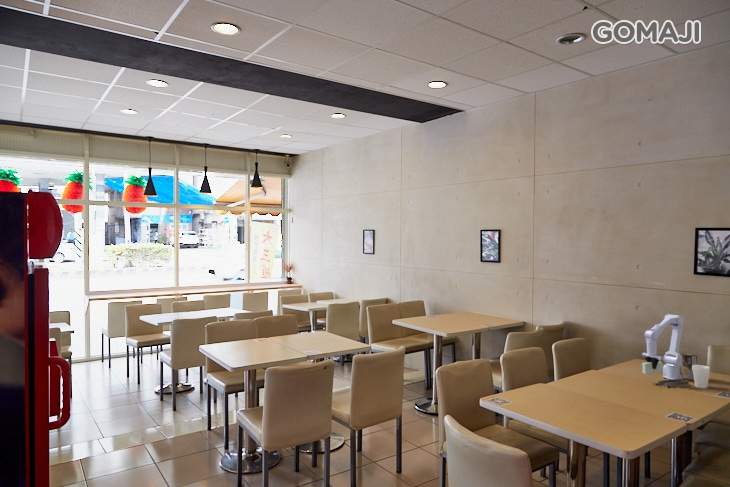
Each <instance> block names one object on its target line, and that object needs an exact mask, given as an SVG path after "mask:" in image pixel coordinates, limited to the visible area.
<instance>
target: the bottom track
mask: <svg viewBox="0 0 730 487" xmlns="http://www.w3.org/2000/svg"><path fill="white" fill-rule="evenodd" d="M657 384H658V386H660V385H661V387H663V386H665V387H664V388H666V387H673V388H681V387H689V386H691V383H689V380H683V379H664V380H657V382H656V385H657Z"/></svg>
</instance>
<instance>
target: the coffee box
mask: <svg viewBox="0 0 730 487" xmlns="http://www.w3.org/2000/svg"><path fill="white" fill-rule="evenodd" d="M679 354H680V355H681V356H682V364H681V366H679V373H680V378H683V379H686V380H687V379H688V380H693V381H695V380H694V375H693V370H692V365H698V355H696V354H690V353H685V352H684V353H679Z"/></svg>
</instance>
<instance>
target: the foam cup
mask: <svg viewBox="0 0 730 487" xmlns="http://www.w3.org/2000/svg"><path fill="white" fill-rule="evenodd" d="M692 370H693V375H694V380H693V381H694V385H695V387H696V388H701V389H707V388H708V386H709V377H710V366H707V365H701V364H697V365H692Z"/></svg>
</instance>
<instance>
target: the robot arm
mask: <svg viewBox="0 0 730 487" xmlns="http://www.w3.org/2000/svg"><path fill="white" fill-rule="evenodd" d="M684 322H685V318H684V317H683V315H676V314H671V313H667V314H665V316H664V319H663V320H662V321H661V322H660V323H659V324H658V323H657V324H654V326H653V327H651V328H650V329H649V330H648V329H647V330H645V331H644V334H643V337H644V338H645V341H646V352H642V353H641V355H642V356H643V357H644V359H645V362H652V368H653V369H656V367H657V364H658V362H659V361H662V360H663V363H664V365H662V367H663V372H662V377H661V378H666V379H667V380H672V379H682V380H684V378H683V377H680V369H679V366H681V364H682V356H681V355H680V354H681V353H680V351H679V350H680V343H681V339H682V338H681V337H682V332H683V328H684ZM668 326H670V327H671V328H672V332H671V337H670V338H671V339H670V345H669V350H668V351H665V354H664V355H663V357H662V356H661V355H658V350H657V349H658V348H657V340H658V339H659V336H660V335H661V333H662V332H664V329H665V328H666V327H668Z"/></svg>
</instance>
